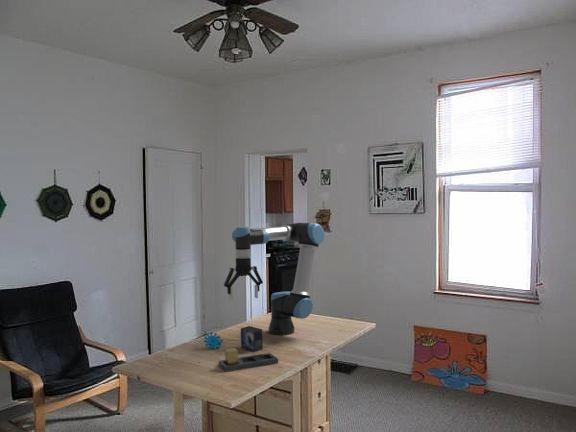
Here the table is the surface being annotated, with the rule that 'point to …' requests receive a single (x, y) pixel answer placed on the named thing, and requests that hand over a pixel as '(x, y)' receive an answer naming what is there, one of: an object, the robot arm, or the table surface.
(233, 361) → the olive yellow block
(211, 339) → the gear
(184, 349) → the table surface
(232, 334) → the table surface
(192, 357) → the table surface
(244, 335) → the small box
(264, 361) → the grey flat frame
